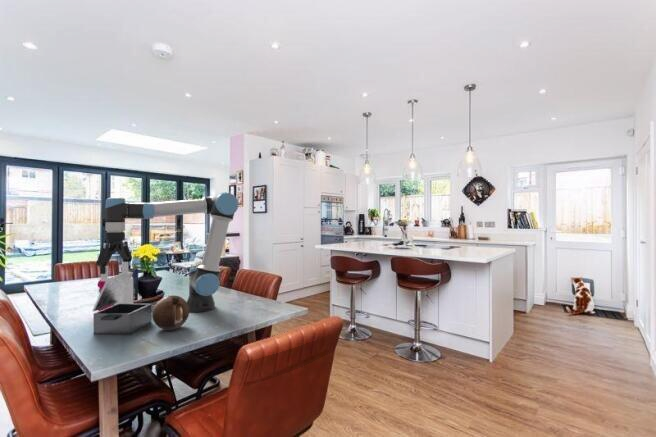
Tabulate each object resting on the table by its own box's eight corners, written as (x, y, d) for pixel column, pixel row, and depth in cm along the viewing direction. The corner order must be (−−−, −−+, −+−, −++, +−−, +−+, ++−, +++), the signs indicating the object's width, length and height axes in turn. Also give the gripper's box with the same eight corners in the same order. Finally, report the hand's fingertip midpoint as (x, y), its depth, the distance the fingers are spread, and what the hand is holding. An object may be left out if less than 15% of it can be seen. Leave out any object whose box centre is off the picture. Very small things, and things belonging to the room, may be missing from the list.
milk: (114, 316, 166) (113, 273, 166) (124, 313, 172) (123, 271, 171) (123, 317, 164) (123, 273, 164) (133, 313, 170) (133, 271, 170)
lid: (133, 272, 156) (128, 270, 157) (108, 279, 140) (103, 276, 140) (119, 301, 157) (114, 299, 157) (93, 311, 140) (88, 308, 141)
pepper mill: (104, 316, 165) (104, 277, 165) (92, 315, 167) (92, 276, 166) (116, 312, 172) (116, 274, 172) (104, 311, 174) (104, 274, 174)
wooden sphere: (152, 326, 150) (152, 294, 150) (187, 321, 158) (187, 290, 158) (152, 337, 137) (152, 301, 137) (191, 331, 145) (191, 297, 145)
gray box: (154, 321, 158) (154, 302, 158) (126, 336, 138) (125, 315, 138) (122, 320, 159) (122, 302, 159) (89, 336, 138) (89, 315, 138)
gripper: (125, 230, 161) (125, 273, 161) (85, 232, 136) (85, 283, 136) (140, 230, 161) (140, 273, 161) (103, 233, 136) (103, 284, 136)
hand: (115, 278), depth 148 cm, fingers open, 13 cm apart
